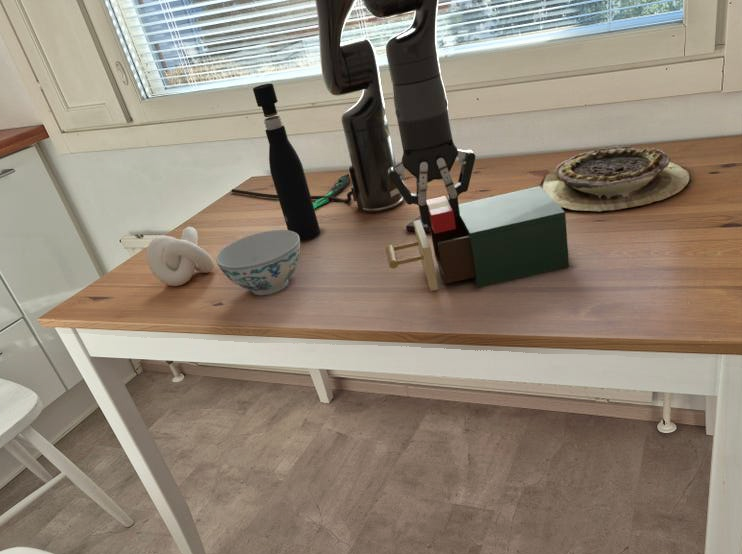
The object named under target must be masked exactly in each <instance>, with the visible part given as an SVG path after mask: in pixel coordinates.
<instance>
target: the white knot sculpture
mask: <svg viewBox="0 0 742 554" xmlns="http://www.w3.org/2000/svg"><path fill="white" fill-rule="evenodd" d="M198 238H199V233H198V231H197V228H195V227H193V226H187V227H184V228H183V230H182V233H181V237H180V238H176V237H174V236H169V235H159V236H155V237H154V238H153V239H152V240H151V241H150V242H149V243H148V246H147V248H146V252H145V253H146V261H147V265H148V268H149V269H150V271H151V272H152V274H153V275H154V277H155V278H157V279H158V280H159V281H160V282H161V283H164V284H166V285H168V286H171V287H179V286H183V285H185V284H186V283H188V282H189V281H190V280H191V278H192V277H193V275H194V272H195V271H196V272H199V273H202V274H207V273H210V272H212V271H213V270H214V268H215V261H214V259H213V258H212V256H211V255H210V253H209V252H207V251H206V250H205V249H204V248H202V247H200V246H199V245H198V240H199V239H198Z"/></svg>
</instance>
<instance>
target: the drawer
mask: <svg viewBox="0 0 742 554" xmlns="http://www.w3.org/2000/svg"><path fill="white" fill-rule="evenodd" d="M456 218H457V221H455V225H456V229H453V230H448V231H444V232H440V233H434V231H433V229H432V227H430V231H431V232H430V236H431V241H432V248H433V252H434V258H435V260H436V264H437V265H438V269H439V271H440V273H441V277H442V278H443V281H444V284H445V285H446V284H451V283H455V282H460V281H464V280H468V279H474V278H473V277H476V275H475V269H474V262H473V256H472V249H471V242H470V236H469V234H468V232H467V231H466V229H465V227H464V225H463V223H462V221H461V219H460V218H459V217H456ZM412 221H413V223H414V228H415V231H414V232H415V238H416V241H411V242H407V243H403V244H398V245H392V244H387V245H386V246H385V253H386V257H387V261H388V262H387V263H388V266H389V268H390V269H392V270H395V269H397V268H398V266H400V265H404V264H409V263H414V262H418V261H420V262H421V266H422V268H423V271H424V274H425V277H426V280H427V283H428V286H429V289H430V291H431V292H432V291H437V290H439V286H438V280H437V279H438V278H437V275H436V268H435V262H434V258H433V252H432V248H431V244H430V241H429V238H428V236H427V234H426V232H425V231H424V229H423V226H422V223H421V221H420V220H416V221H414V220H412ZM413 247H418V253H419V254H418V255H414V256H410V257H406V258H400V259H398V258H397V254H396V251H399V250H404V249H409V248H413Z"/></svg>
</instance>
